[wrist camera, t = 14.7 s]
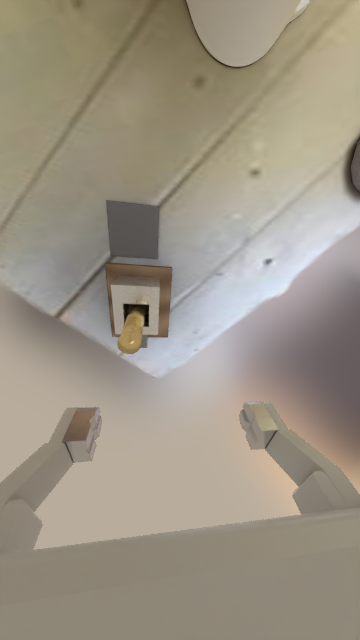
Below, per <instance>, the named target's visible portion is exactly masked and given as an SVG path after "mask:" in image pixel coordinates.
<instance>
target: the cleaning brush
mask: <svg viewBox="0 0 360 640" xmlns="http://www.w3.org/2000/svg"><path fill="white" fill-rule="evenodd" d="M351 173H352V182H353V185H354V186H355V187H356V188H357V189H358V191H359V192H360V140H359V142H358V143H357V146H356V150H355V153H354V157H353V160H352V164H351Z"/></svg>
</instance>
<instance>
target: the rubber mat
mask: <svg viewBox="0 0 360 640" xmlns="http://www.w3.org/2000/svg"><path fill="white" fill-rule="evenodd" d="M106 202H107V214H108V226H109V237H110V249H111V256H124V257H137V258H151V259H158V224H159V206H151V205H143V204H134V203H126V202H117V201H108V200H106Z"/></svg>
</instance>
